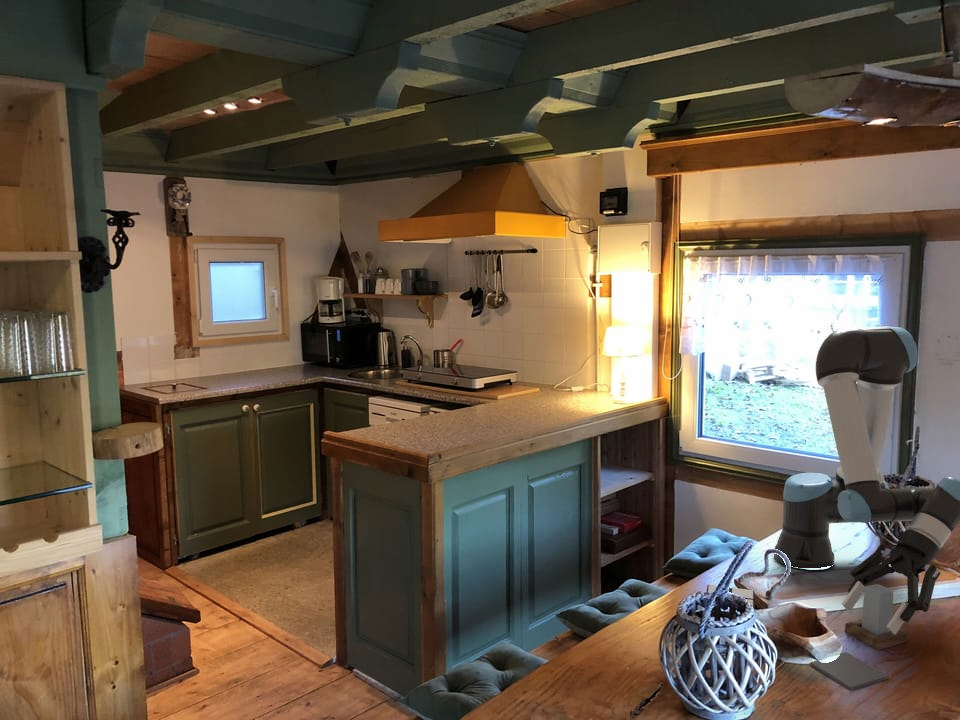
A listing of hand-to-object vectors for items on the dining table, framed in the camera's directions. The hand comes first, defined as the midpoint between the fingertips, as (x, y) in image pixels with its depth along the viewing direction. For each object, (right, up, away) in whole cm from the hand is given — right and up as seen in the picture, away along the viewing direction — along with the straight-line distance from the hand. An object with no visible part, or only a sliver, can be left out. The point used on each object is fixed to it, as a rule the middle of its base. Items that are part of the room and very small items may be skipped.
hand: (867, 619), depth 168 cm
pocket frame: (+3, -4, +2) cm, 5 cm away
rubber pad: (-10, -6, -12) cm, 17 cm away
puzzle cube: (-30, -5, +1) cm, 30 cm away
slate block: (+3, -4, +2) cm, 5 cm away
